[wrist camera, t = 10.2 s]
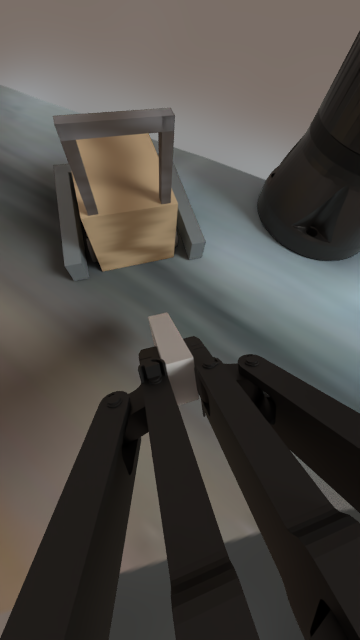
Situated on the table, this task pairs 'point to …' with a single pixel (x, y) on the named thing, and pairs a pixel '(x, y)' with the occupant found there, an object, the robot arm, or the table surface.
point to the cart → (123, 183)
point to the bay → (73, 230)
